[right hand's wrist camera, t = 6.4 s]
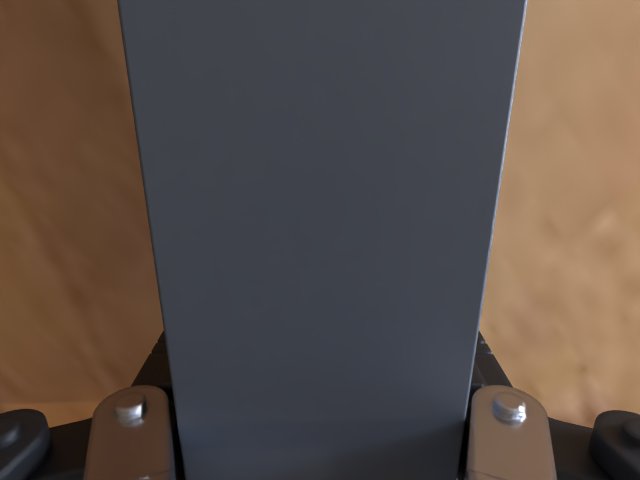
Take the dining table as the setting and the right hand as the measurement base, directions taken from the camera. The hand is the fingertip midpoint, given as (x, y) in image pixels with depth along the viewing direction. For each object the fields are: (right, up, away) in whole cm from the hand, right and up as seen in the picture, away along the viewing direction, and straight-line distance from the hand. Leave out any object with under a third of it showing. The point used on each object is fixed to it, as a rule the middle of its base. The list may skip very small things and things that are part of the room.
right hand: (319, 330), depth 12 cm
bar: (0, +25, -7) cm, 26 cm away
